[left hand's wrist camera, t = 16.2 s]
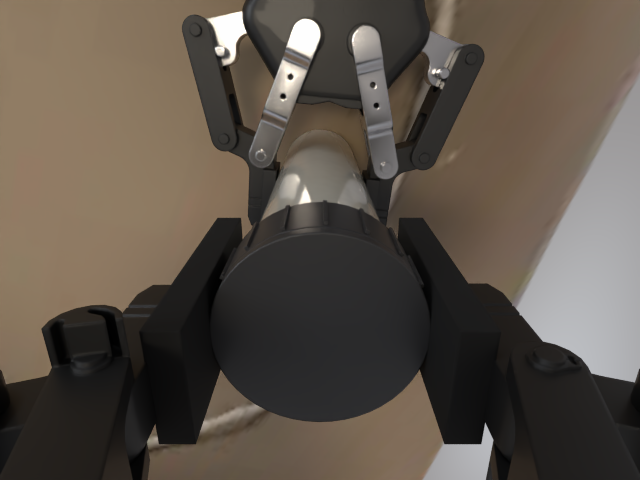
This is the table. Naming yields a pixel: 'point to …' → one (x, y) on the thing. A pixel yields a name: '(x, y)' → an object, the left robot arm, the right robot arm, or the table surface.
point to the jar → (320, 175)
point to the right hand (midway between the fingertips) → (316, 235)
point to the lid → (320, 314)
